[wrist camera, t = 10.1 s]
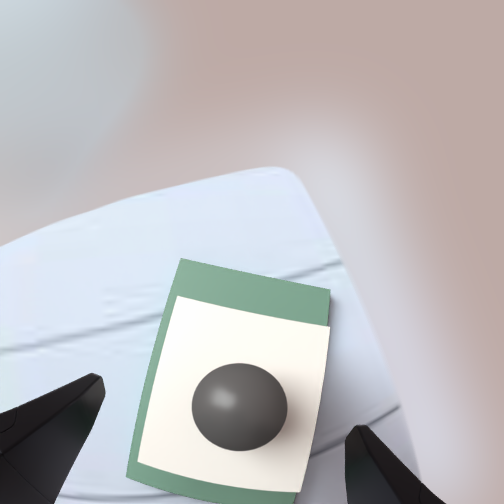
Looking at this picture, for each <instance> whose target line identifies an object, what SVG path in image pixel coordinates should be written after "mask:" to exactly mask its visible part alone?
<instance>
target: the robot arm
mask: <svg viewBox="0 0 504 504" xmlns="http://www.w3.org/2000/svg"><path fill="white" fill-rule="evenodd" d="M104 397H105V387H104V383H103V378H102V377H101V376H99V375H97V374H94V373H90V374H88V375H86V376H84V377H81V378H79V379H77V380H75V381H73V382H71V383H69V384H67V385H64V386H62V387H60V388H58V389H56V390H54V391H51V392H49V393H47V394H45V395H43V396H40V397H38V398H36V399H34V400H31V401H29V402H27V403H25V404H22V405H20V406H18V407H15V408H13V409H11V410H8V411H5V412H3V413H0V504H54V503H55V500H56V498H57V496H58V494H59V492H60V490H61V488H62V486H63V484H64V482H65V480H66V478H67V476H68V474H69V472H70V470H71V468H72V466H73V464H74V462H75V460H76V458H77V456H78V454H79V452H80V450H81V448H82V446H83V444H84V443H85V441H86V439H87V437H88V435H89V433H90V431H91V429H92V427H93V425H94V422H95V420H96V417H97V415H98V412H99V410H100V407H101V405H102V402H103V400H104ZM345 482H346V491H347V501H348V504H446V503H444V502H443V501H442V500H441V499H439V498H438V497H437V496H436V495H435V494H433V493H432V492H431V491H430V490H429V489H428V488H427V487H426V486H425V485H424V484H423V483H421V481H420V480H419V479H418V478H417V477H416V476H415V475H414V474H413V473H412V472H411V471H410V470H409V469H408V468H407V467H406V466H405V465H404V464H403V463H402V462H401V461H400V460H399V459H398V458H397V457H396V456H395V455H394V454H393V453H392V451H391V450H390V449H389V448H388V447H387V446H386V445H385V444H384V443H383V442H382V441H381V440H380V439H379V438H378V437H377V436H376V435H375V434H374V432H373V431H372V430H371V429H370V428H369V427H368V426H366V425H356V426H354V428H353V429H352V430H351V432H350V433H349V435H348V436H347V437H346V440H345Z"/></svg>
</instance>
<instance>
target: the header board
mask: <svg viewBox="0 0 504 504" xmlns="http://www.w3.org/2000/svg"><path fill="white" fill-rule="evenodd" d="M177 296H180V297H184V298H188V299H192V300H197V301H201V302H205V303H209V304H214V305H218V306H222V307H227V308H231V309H236V310H241V311H246V312H250V313H255V314H260V315H265V316H270V317H275V318H281V319H286V320H292V321H297V322H303V323H309V324H315V325H321V326H327V323H328V313H329V302H330V289H325V288H320V287H315V286H309V285H304V284H299V283H295V282H290V281H285V280H280V279H275V278H270V277H265V276H260V275H256V274H251V273H246V272H242V271H237V270H232V269H228V268H223V267H218V266H214V265H209V264H205V263H200V262H196V261H191V260H187V259H183V258H181V259H180V262H179V265H178V268H177V271H176V274H175V277H174V281H173V284H172V287H171V290H170V293H169V296H168V300H167V303H166V306H165V310H164V313H163V316H162V320H161V323H160V327H159V330H158V334H157V337H156V341H155V345H154V348H153V352H152V356H151V360H150V363H149V367H148V371H147V375H146V379H145V383H144V388H143V392H142V396H141V401H140V405H139V410H138V414H137V419H136V424H135V429H134V434H133V439H132V444H131V450H130V455H129V461H128V467H127V473H126V477H127V478H130V479H132V480H135V481H138V482H140V483H143V484H146V485H149V486H152V487H155V488H158V489H161V490H164V491H168V492H171V493H175V494H178V495H182V496H186V497H190V498H194V499H199V500H203V501H208V502H213V503H219V504H293V503H294V500H295V496H296V492H279V491H266V490H256V489H247V488H240V487H233V486H227V485H221V484H216V483H211V482H206V481H201V480H197V479H193V478H189V477H185V476H181V475H177V474H174V473H170V472H167V471H164V470H160V469H157V468H154V467H151V466H148V465H145V464H143V463H140V462H137V461H138V455H139V450H140V445H141V439H142V434H143V429H144V425H145V420H146V415H147V411H148V406H149V402H150V397H151V393H152V388H153V384H154V380H155V376H156V372H157V368H158V364H159V360H160V356H161V352H162V349H163V345H164V341H165V337H166V334H167V330H168V326H169V323H170V319H171V316H172V312H173V309H174V305H175V302H176V299H177Z"/></svg>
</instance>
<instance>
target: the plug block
mask: <svg viewBox="0 0 504 504" xmlns="http://www.w3.org/2000/svg"><path fill="white" fill-rule="evenodd" d="M329 333H330V327H327V326H321V325H315V324H309V323H303V322H297V321H292V320H286V319H281V318H275V317H270V316H265V315H260V314H255V313H250V312H246V311H241V310H236V309H231V308H227V307H222V306H218V305H214V304H209V303H205V302H201V301H197V300H192V299H188V298H184V297H180V296H177V299H176V302H175V305H174V309H173V312H172V316H171V319H170V323H169V326H168V330H167V334H166V337H165V341H164V345H163V349H162V352H161V356H160V360H159V364H158V368H157V372H156V376H155V380H154V384H153V388H152V393H151V397H150V402H149V406H148V411H147V415H146V420H145V425H144V429H143V434H142V439H141V445H140V450H139V455H138V461H137V462H140V463H143V464H145V465H148V466H151V467H154V468H157V469H160V470H164V471H167V472H170V473H174V474H177V475H181V476H185V477H189V478H193V479H197V480H201V481H206V482H211V483H216V484H221V485H227V486H233V487H240V488H247V489H256V490H266V491H279V492H300V491H301V487H302V483H303V479H304V475H305V471H306V467H307V463H308V459H309V455H310V450H311V446H312V441H313V436H314V431H315V426H316V421H317V416H318V410H319V404H320V399H321V393H322V386H323V380H324V373H325V366H326V358H327V350H328V342H329Z"/></svg>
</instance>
